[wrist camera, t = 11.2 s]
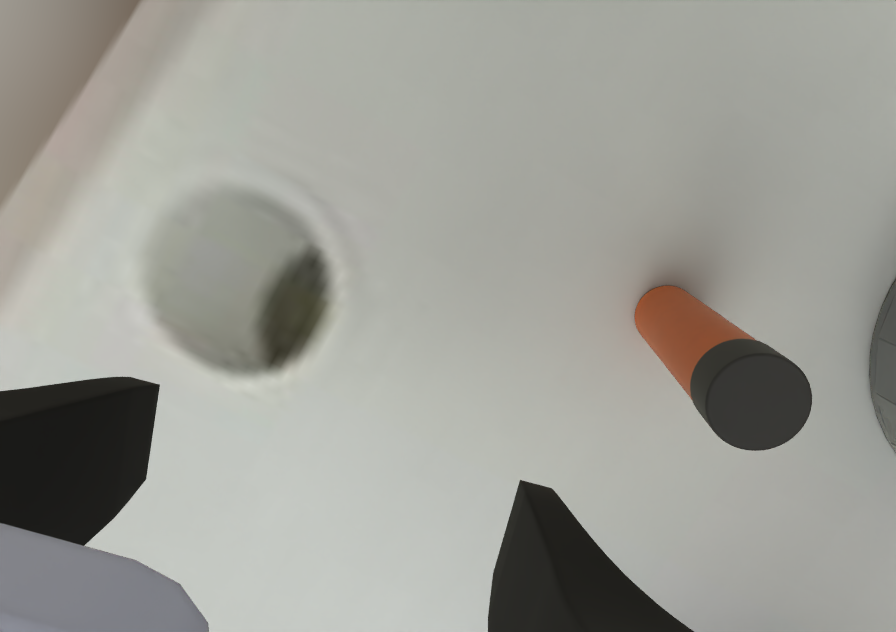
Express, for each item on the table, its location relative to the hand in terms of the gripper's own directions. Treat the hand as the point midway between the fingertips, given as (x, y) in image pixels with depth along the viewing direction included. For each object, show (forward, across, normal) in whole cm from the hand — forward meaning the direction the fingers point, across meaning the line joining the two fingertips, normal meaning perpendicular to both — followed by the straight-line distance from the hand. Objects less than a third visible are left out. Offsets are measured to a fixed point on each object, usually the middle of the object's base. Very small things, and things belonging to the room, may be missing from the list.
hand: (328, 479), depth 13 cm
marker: (+10, -8, -3) cm, 13 cm away
